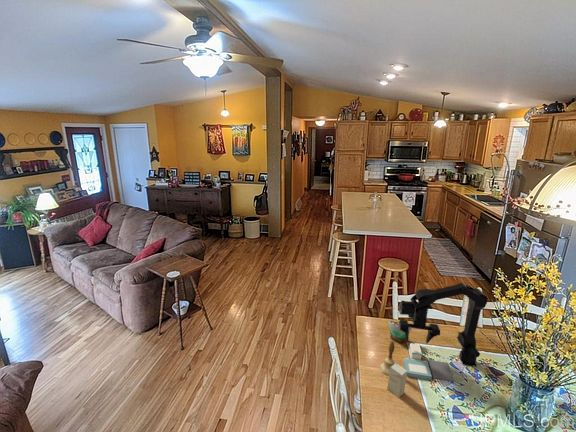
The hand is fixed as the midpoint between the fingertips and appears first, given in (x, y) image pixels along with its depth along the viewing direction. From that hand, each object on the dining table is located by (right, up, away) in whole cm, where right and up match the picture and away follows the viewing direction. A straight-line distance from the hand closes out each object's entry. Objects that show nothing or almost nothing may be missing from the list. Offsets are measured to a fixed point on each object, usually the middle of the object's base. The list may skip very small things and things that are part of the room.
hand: (417, 341), depth 157 cm
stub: (0, -9, +3) cm, 10 cm away
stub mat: (+9, -12, -6) cm, 16 cm away
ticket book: (-3, -11, -6) cm, 13 cm away
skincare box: (-17, -15, -19) cm, 29 cm away
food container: (-4, -6, +15) cm, 17 cm away
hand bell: (-16, -11, -6) cm, 21 cm away
